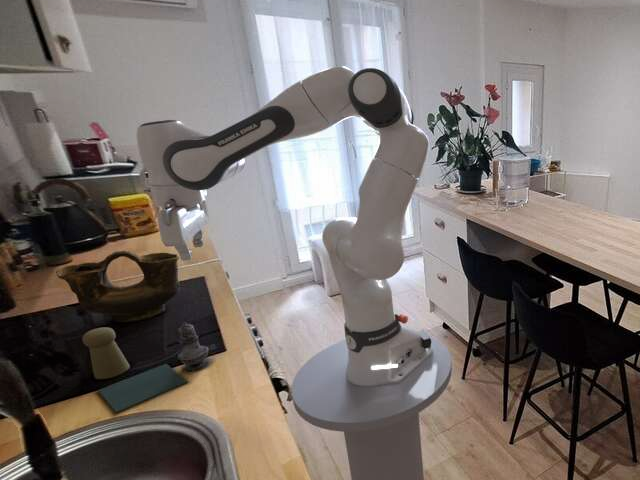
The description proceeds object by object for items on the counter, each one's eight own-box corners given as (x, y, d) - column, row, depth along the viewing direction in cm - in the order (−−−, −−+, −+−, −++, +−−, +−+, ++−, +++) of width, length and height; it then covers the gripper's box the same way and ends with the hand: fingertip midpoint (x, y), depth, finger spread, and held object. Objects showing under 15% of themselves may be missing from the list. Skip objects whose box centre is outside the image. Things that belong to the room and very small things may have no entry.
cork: (94, 370, 96) (78, 329, 92) (129, 360, 100) (115, 321, 96) (93, 382, 92) (76, 340, 88) (130, 372, 96) (115, 331, 92)
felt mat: (166, 364, 99) (166, 363, 99) (187, 382, 93) (187, 381, 93) (98, 391, 90) (97, 390, 89) (116, 413, 84) (116, 411, 84)
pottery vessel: (76, 336, 109) (47, 268, 102) (79, 320, 117) (53, 255, 110) (194, 309, 125) (176, 248, 118) (191, 296, 132) (174, 238, 126)
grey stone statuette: (175, 373, 96) (161, 329, 92) (190, 359, 101) (176, 316, 97) (204, 371, 97) (191, 327, 93) (216, 357, 103) (205, 315, 98)
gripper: (180, 204, 85) (197, 266, 89) (207, 186, 102) (220, 238, 107) (141, 206, 82) (160, 269, 87) (175, 187, 100) (190, 241, 104)
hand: (193, 252), depth 97 cm, fingers open, 8 cm apart
